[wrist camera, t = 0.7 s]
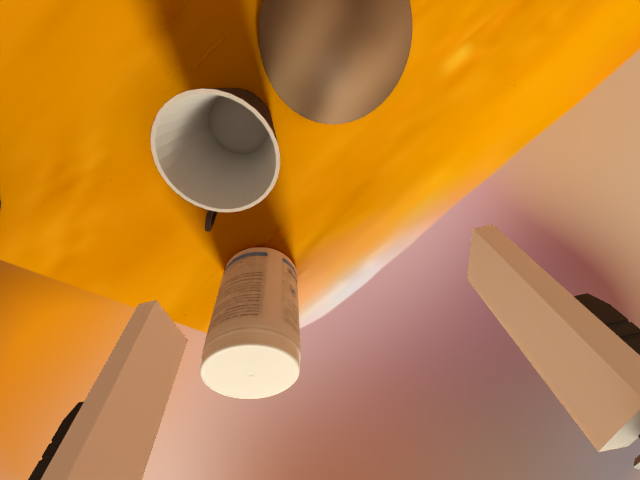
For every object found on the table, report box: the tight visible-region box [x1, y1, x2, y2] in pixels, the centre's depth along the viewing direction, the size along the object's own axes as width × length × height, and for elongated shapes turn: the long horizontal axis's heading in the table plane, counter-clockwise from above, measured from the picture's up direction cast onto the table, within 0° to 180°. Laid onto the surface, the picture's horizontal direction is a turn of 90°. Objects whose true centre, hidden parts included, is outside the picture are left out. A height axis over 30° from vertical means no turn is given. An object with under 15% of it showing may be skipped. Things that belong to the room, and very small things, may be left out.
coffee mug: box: [150, 88, 280, 232], centre depth 25 cm, size 12×9×10 cm
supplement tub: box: [200, 247, 301, 399], centre depth 33 cm, size 10×10×15 cm
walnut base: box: [259, 0, 412, 124], centre depth 25 cm, size 13×13×1 cm
